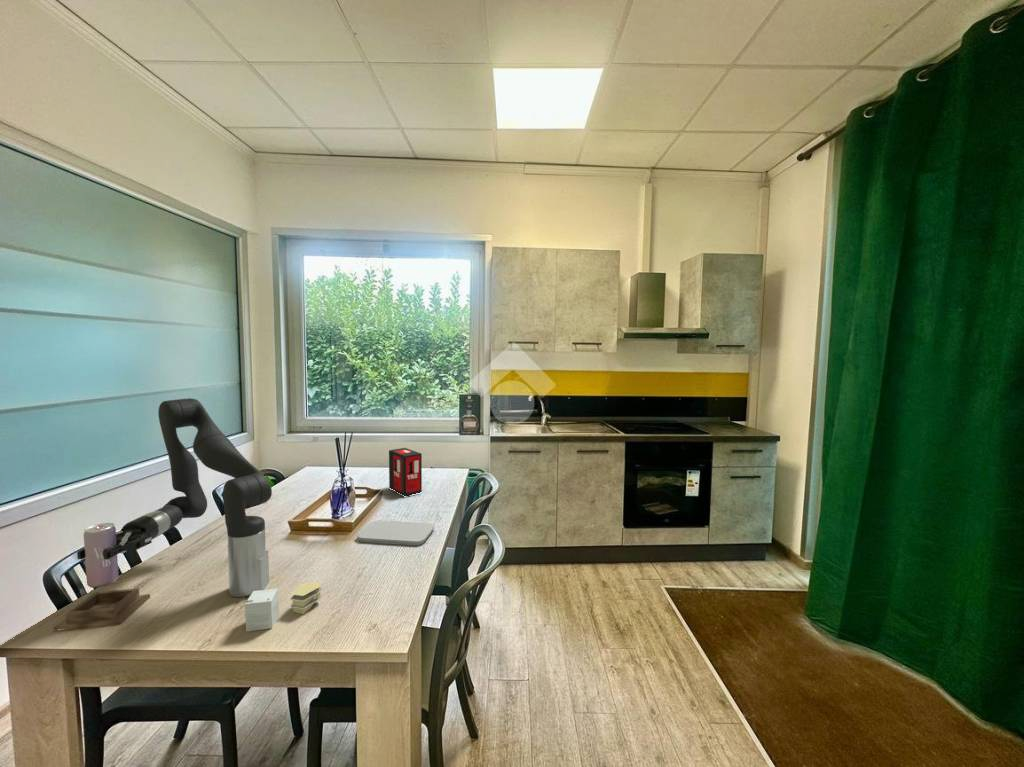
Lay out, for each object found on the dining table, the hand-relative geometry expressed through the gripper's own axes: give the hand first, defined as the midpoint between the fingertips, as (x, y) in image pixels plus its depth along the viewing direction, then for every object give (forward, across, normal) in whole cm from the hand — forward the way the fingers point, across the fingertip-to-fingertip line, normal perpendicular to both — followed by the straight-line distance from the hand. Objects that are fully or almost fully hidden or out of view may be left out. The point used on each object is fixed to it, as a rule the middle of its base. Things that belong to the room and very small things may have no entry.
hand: (92, 555), depth 108 cm
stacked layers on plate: (-5, +52, +17) cm, 55 cm away
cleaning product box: (-101, +57, +18) cm, 118 cm away
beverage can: (-2, 0, +9) cm, 9 cm away
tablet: (-50, +65, +18) cm, 84 cm away
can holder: (-2, 0, +17) cm, 17 cm away
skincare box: (+2, +44, +17) cm, 47 cm away
